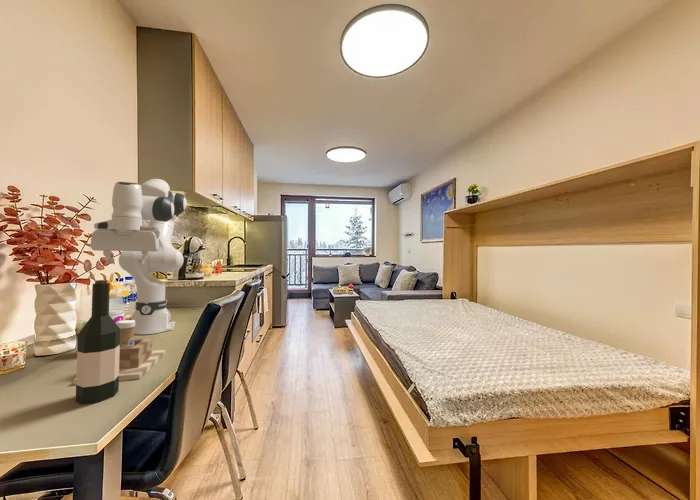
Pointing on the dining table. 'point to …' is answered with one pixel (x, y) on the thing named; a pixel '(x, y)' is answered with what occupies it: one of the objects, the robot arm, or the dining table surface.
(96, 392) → the wine bottle
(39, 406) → the dining table surface
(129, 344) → the sprinkles bottle
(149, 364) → the holder board
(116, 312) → the supplement can
